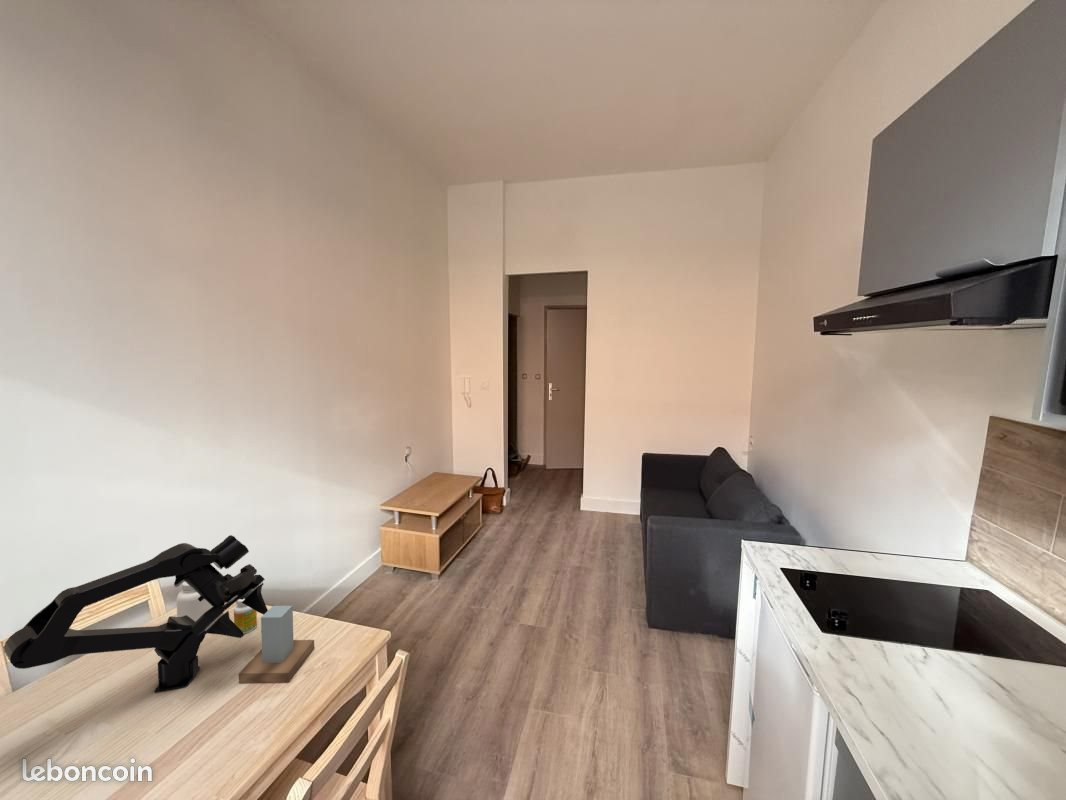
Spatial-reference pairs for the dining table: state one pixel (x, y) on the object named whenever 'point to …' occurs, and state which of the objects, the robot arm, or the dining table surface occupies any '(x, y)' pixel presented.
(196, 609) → the pill bottle
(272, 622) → the slate post
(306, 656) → the walnut board
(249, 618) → the supplement bottle
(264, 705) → the dining table surface
